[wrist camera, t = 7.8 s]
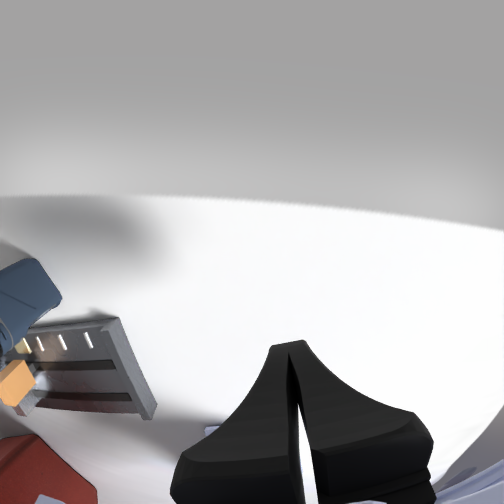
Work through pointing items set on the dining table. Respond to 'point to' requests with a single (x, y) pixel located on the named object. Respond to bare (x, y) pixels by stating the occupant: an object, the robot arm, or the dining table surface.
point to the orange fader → (16, 381)
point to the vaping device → (23, 300)
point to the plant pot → (38, 474)
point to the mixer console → (82, 369)
